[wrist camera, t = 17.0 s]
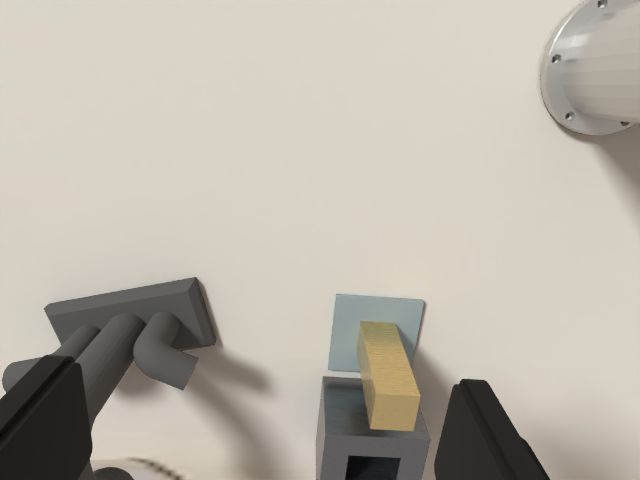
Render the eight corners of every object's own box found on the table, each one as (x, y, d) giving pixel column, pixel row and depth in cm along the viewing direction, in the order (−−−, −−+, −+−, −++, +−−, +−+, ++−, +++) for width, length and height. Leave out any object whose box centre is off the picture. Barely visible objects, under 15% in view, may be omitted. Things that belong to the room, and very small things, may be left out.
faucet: (96, 412, 52) (-25, 595, 33) (44, 304, 46) (-136, 451, 28) (235, 388, 51) (192, 563, 32) (199, 276, 46) (122, 408, 27)
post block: (410, 381, 51) (430, 439, 43) (397, 448, 55) (413, 513, 47) (322, 376, 51) (325, 434, 42) (315, 444, 54) (316, 509, 46)
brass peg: (394, 322, 47) (420, 396, 36) (389, 351, 49) (413, 431, 38) (360, 320, 47) (375, 393, 36) (356, 349, 49) (370, 429, 37)
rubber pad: (422, 299, 47) (424, 302, 47) (408, 371, 51) (409, 374, 50) (336, 294, 47) (336, 296, 46) (328, 366, 50) (328, 369, 50)
